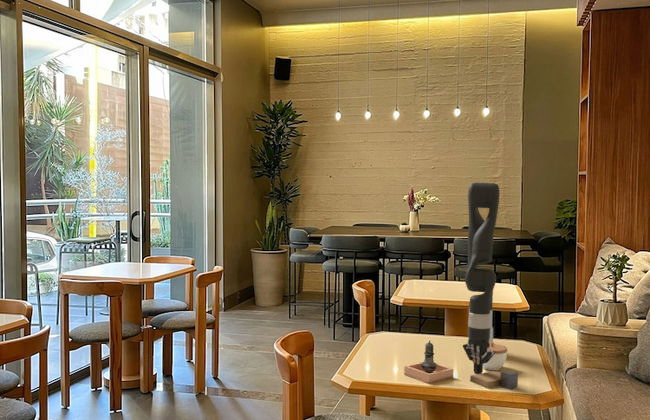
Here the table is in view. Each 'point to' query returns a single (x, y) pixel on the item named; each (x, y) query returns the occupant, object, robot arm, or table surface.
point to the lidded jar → (496, 357)
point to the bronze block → (487, 379)
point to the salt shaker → (428, 359)
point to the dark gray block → (509, 379)
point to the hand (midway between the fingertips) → (477, 373)
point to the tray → (438, 375)
